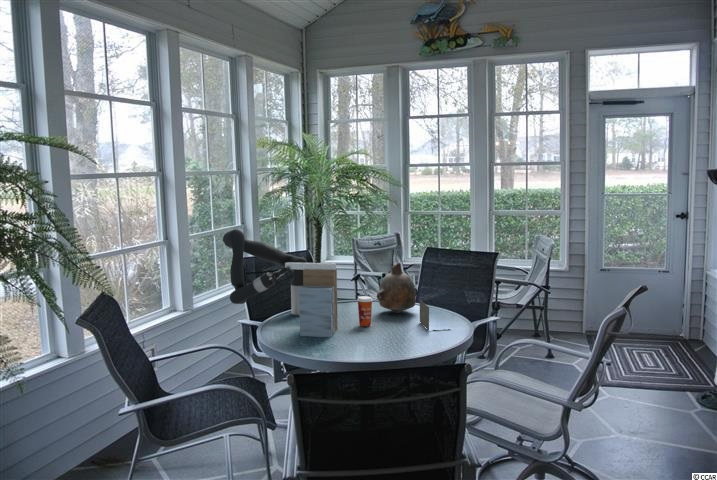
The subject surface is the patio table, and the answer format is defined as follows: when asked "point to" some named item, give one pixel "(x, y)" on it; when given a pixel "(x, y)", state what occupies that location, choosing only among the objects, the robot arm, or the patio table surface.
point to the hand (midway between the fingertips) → (289, 267)
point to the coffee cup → (364, 310)
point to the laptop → (424, 314)
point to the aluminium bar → (311, 266)
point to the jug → (397, 291)
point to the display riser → (318, 303)
